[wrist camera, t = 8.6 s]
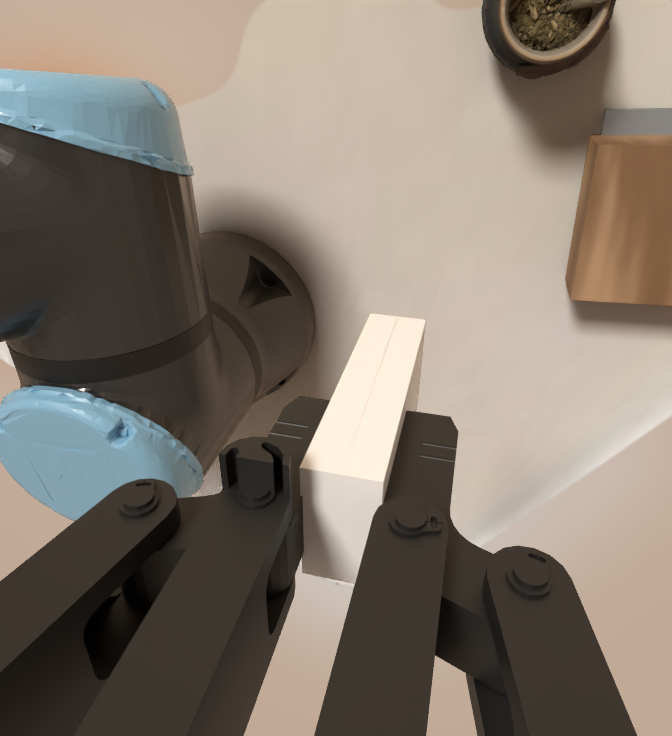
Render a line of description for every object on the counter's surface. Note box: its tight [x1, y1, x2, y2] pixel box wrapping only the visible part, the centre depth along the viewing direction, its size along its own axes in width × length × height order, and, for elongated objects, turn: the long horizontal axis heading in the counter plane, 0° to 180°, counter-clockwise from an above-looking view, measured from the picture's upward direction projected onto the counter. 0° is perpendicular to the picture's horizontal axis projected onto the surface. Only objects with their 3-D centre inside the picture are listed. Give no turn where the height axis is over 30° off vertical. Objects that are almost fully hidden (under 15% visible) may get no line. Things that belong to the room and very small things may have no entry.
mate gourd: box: [480, 0, 616, 79], centre depth 31 cm, size 7×8×10 cm
